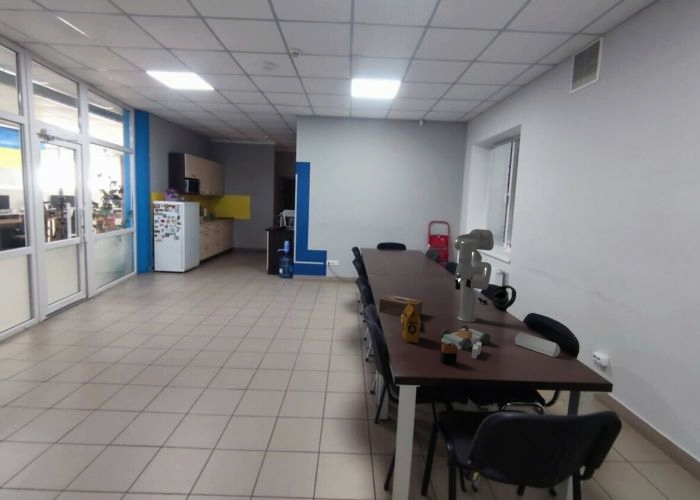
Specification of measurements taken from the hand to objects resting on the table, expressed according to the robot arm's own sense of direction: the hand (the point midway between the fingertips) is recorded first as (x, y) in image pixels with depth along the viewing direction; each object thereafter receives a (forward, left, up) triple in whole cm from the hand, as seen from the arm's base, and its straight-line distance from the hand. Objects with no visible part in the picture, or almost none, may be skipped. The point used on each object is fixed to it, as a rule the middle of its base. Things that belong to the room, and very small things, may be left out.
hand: (462, 288), depth 229 cm
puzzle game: (+23, -20, -27) cm, 40 cm away
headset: (-66, -21, -27) cm, 74 cm away
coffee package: (+39, -2, -27) cm, 47 cm away
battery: (+43, +30, -27) cm, 58 cm away
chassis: (+13, +15, -26) cm, 33 cm away
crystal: (-15, +41, -27) cm, 51 cm away
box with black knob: (+13, +15, -25) cm, 32 cm away
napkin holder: (+21, +30, -27) cm, 46 cm away
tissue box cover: (+12, -42, -27) cm, 51 cm away
